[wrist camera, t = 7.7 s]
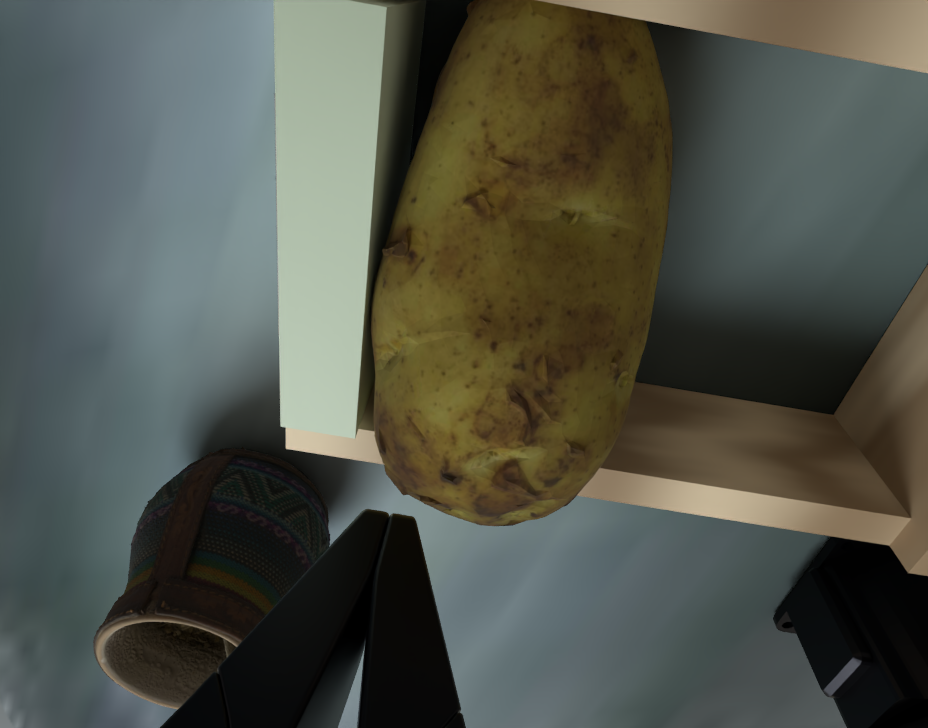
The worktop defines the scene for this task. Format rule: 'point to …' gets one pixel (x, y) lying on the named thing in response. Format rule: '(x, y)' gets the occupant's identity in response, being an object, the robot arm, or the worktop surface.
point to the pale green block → (337, 192)
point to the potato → (522, 262)
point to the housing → (764, 425)
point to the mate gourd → (209, 570)
